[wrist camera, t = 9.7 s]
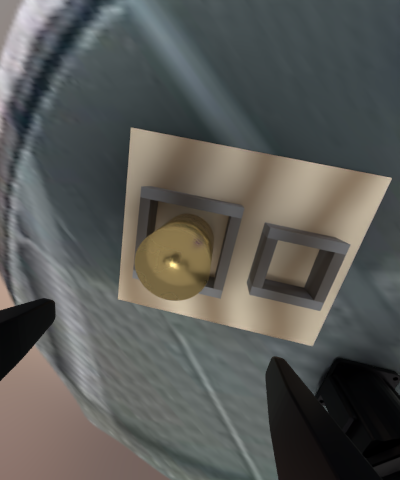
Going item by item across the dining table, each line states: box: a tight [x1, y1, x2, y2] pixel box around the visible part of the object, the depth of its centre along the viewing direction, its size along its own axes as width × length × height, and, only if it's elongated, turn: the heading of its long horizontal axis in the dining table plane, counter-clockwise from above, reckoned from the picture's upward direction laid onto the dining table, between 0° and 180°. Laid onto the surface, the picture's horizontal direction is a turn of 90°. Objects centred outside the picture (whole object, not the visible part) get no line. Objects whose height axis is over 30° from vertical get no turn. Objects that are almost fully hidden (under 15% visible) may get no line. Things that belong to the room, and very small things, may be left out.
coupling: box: [135, 214, 214, 301], centre depth 14 cm, size 5×5×6 cm
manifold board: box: [118, 128, 392, 346], centre depth 17 cm, size 20×16×4 cm
